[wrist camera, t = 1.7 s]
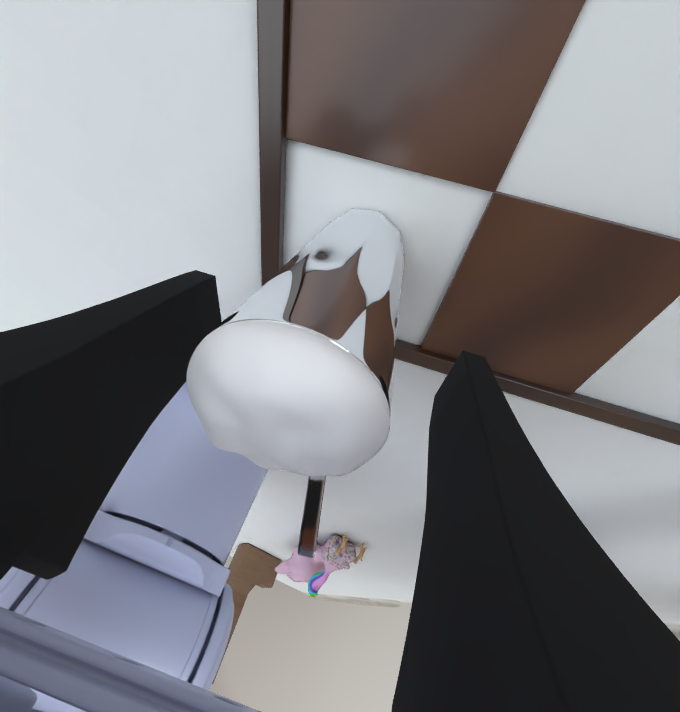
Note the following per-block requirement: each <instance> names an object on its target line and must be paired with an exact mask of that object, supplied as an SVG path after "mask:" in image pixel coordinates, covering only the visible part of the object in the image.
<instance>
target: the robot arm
mask: <svg viewBox="0 0 680 712" xmlns="http://www.w3.org/2000/svg"><path fill="white" fill-rule="evenodd" d="M220 323H222V322H221V315H220V308H219V300H218V293H217V286H216V278H215V276H213V275H210V274H207V273H203V272H200V271H197V270H195V271H191V272H188V273H185V274H182V275H179V276H176V277H173V278H170V279H168V280H165V281H162V282H160V283H157V284H154V285H152V286H149V287H146V288H144V289H141V290H138V291H136V292H133V293H130V294H127V295H125V296H122V297H119V298H117V299H114V300H111V301H108V302H105V303H102V304H99V305H96V306H93V307H90V308H87V309H84V310H81V311H78V312H75V313H71V314H68V315H65V316H61V317H58V318H55V319H51V320H47V321H44V322H40V323H36V324H32V325H28V326H24V327H21V328H17V329H13V330H8V331H4V332H0V712H260V711H258V710H255V709H253V708H250V707H248V706H245V705H243V704H240V703H238V702H235V701H232V700H230V699H228V698H225V697H223V696H220V695H218V694H216V693H213V692H211V691H209V689H210V687H211V685H212V682H213V680H214V678H215V675H216V673H217V670H218V668H219V665H220V663H221V660H222V657H223V655H224V652H225V649H226V646H227V642H228V639H229V635H230V632H231V627H232V623H233V617H234V602H233V594H232V588H231V586H230V585H229V584H226V581H227V579H228V577H229V574H230V572H231V570H230V569H228V568H226V567H224V565H225V563H226V560H227V558H228V556H229V554H230V552H231V549H232V547H233V545H234V543H235V541H236V539H237V536H238V534H239V532H240V530H241V528H242V525H243V523H244V521H245V519H246V517H247V514H248V512H249V510H250V508H251V506H252V503H253V501H254V499H255V497H256V495H257V492H258V490H259V488H260V486H261V484H262V482H263V479H264V477H265V475H266V473H267V471H268V469H265V468H262V467H260V466H258V465H256V464H255V463H253V462H252V461H250V460H249V459H248V458H246V457H245V456H243V455H241V454H238V453H235V452H228V451H223V450H220V449H218V448H216V447H215V446H214V445H213V444H212V443H211V442H210V441H209V439H208V437H207V435H206V433H205V430H204V428H203V426H202V423H201V421H200V419H199V417H198V415H197V413H196V411H195V409H194V407H193V405H192V403H191V400H190V397H189V393H188V389H187V369H188V365H189V362H190V359H191V357H192V355H193V353H194V351H195V349H196V348H197V346H198V345H199V344H200V342H201V341H202V340H203V339H204V338H205V337H206V336H207V335H208V334H210V332H212V331H213V330H214V329H215V328H216V327H217V326H218V325H219V324H220ZM392 712H680V641H679V640H678V639H677V638H676V636H675V635H674V634H673V633H672V632H671V631H670V630H669V629H668V627H667V626H666V625H665V624H664V623H663V622H662V621H661V619H660V618H659V617H658V616H657V615H656V614H655V613H654V611H653V610H652V609H651V608H650V607H649V606H648V604H647V603H646V602H645V601H644V600H643V598H642V597H641V596H640V595H639V594H638V592H637V591H636V590H635V589H634V588H633V587H632V585H631V584H630V583H629V582H628V581H627V579H626V578H625V577H624V576H623V574H622V573H621V572H620V571H619V569H618V568H617V567H616V566H615V564H614V563H613V562H612V560H611V559H610V558H609V557H608V555H607V554H606V553H605V552H604V550H603V549H602V548H601V547H600V545H599V544H598V543H597V541H596V540H595V539H594V538H593V536H592V535H591V534H590V532H589V531H588V530H587V528H586V527H585V526H584V524H583V523H582V522H581V520H580V519H579V517H578V516H577V515H576V513H575V512H574V510H573V509H572V507H571V506H570V505H569V503H568V502H567V500H566V499H565V497H564V496H563V495H562V493H561V492H560V490H559V489H558V487H557V486H556V484H555V483H554V481H553V480H552V478H551V477H550V475H549V474H548V472H547V471H546V469H545V467H544V466H543V464H542V462H541V461H540V459H539V457H538V456H537V454H536V452H535V451H534V449H533V448H532V446H531V444H530V442H529V441H528V439H527V437H526V435H525V434H524V432H523V430H522V428H521V427H520V425H519V423H518V421H517V419H516V417H515V415H514V414H513V412H512V410H511V408H510V406H509V404H508V402H507V400H506V398H505V396H504V394H503V392H502V390H501V388H500V386H499V384H498V382H497V380H496V378H495V376H494V374H493V372H492V370H491V368H490V366H489V364H488V362H487V360H486V358H485V357H484V356H480V355H477V354H474V353H470V352H467V351H464V350H463V351H462V352H461V354H460V355H459V357H458V359H457V360H456V362H455V364H454V365H453V367H452V369H451V370H450V372H449V373H448V375H447V377H446V378H445V380H444V382H443V383H442V385H441V387H440V388H439V390H438V392H437V393H436V395H435V398H434V403H433V409H432V414H431V421H430V427H429V447H428V473H427V500H426V514H425V523H424V530H423V538H422V545H421V552H420V559H419V565H418V571H417V578H416V584H415V590H414V596H413V602H412V608H411V613H410V619H409V624H408V630H407V636H406V641H405V646H404V651H403V656H402V661H401V666H400V671H399V676H398V681H397V685H396V690H395V695H394V699H393V704H392Z"/></svg>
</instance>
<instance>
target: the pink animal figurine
mask: <svg viewBox="0 0 680 712" xmlns="http://www.w3.org/2000/svg"><path fill="white" fill-rule="evenodd" d="M343 535H344V534H343ZM342 537H343V536H342ZM342 539H343V541H342ZM342 539H341V537H339V536H337V535H333V536H331V537H330V538H329V539H328V541H327V542H326V544H325V545H323V546H320V545H319V544H316V551H315V556H314V558H309V557H304V556H300V555H298V546H297V547H296V548H295V549H294V550H293V554H292V556H291V558H289V559H287V560H285V561H283V562H282V563H281V564H279V565H278V566H277V567H275V571H276V572H277V573H280V574H287V576H288V577H289V578H290V579H292V580H293V581H295V582H309V583H308V591H309V594H310V596H311V597H315V596H317V595H318V594H317V592H318V590H319V589H320V587H321V586H322V585H323V584H324V583H325V581H326V580H327V578H328V576H329V574H330V573H331V572H333V571H335V570H341V569H349V568H350V566H349V565H348V564H349V563H350V562H354V563H355V564H356V563H357V561H358V560H359V559H360V558H361V561H362V557H363V554H364V551H365V548H366V547H365V548H363V545H364V543H363V545H362V547H361V546H360V544H359V546H360V553H359V556H358V557H356V550H355V547H354V545H353V544H352V543H350V542H347V541H348V540H349V539H350V538H349V539H346V533H345V537H343V538H342Z"/></svg>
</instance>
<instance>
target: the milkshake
mask: <svg viewBox="0 0 680 712" xmlns="http://www.w3.org/2000/svg"><path fill="white" fill-rule="evenodd" d="M403 268H404V252H403V246H402V240H401V234H400V231H399V230H398V229H397V228H396V227H395V226H394V225H393V224H392V223H391V222H390V221H389V220H388V219H387V218H386V217H385V216H384V215H383V214H382V213H381V212H379V211H370V210H362V209H355V208H352V209H350V210H348V211H347V212H345V213H344V214H342V215H341V216H339V217H337V218H336V219H334V220H333V221H331V222H329V223H328V224H327V225H326V226H325V227H324V228H323V229H322V230H321V231H320V232H319V233H318V234H317V235H316V236H315V237H314V238H313V239H312V240H311V241H310V242H309V243H308V244H307V245H306V246H305V247H304V248H303V249H301V250H300V251H299V252H298V253H297V254H296V255H295V256H294V257H293V258H292V259H291V260H290V261H289V262H288V263H287V264H286V265H285V266H284V267H283V268H282V269H281V270H280V271H279V272H278V273H277V274H276V275H275V276H274V277H273V278H272V279H270V280H269V281H268V282H267V283H266V284H265V285H264V286H262V287H261V288H260V289H259V290H258V291H257V292H256V293H254V294H253V295H252V296H251V297H250V298H249V299H248V300H246V301H245V302H244V303H243V304H242V305H241V306H240V307H239V308H237V309H236V310H235V311H234V312H233V313H232V314H231V315H229V316H228V317H227V318H226V319H225V320H224V321H223V322H222V323H220V324H219V325H218V326H217V327H216V328H215V329H214V330H213V331H212V332H210V334H208V335H207V336H206V337H205V338H204V339H203V340H202V341H201V342H200V344H199V345H198V346H197V348H196V349H195V351H194V353H193V355H192V357H191V359H190V362H189V365H188V369H187V389H188V393H189V397H190V400H191V403H192V405H193V407H194V409H195V411H196V413H197V415H198V417H199V419H200V421H201V423H202V426H203V428H204V430H205V433H206V435H207V437H208V439H209V441H210V442H211V443H212V444H213V445H214V446H215V447H216V448H218V449H220V450H223V451H228V452H235V453H238V454H241V455H243V456H245V457H246V458H248V459H249V460H250V461H252V462H253V463H255V464H256V465H258V466H260V467H262V468H265V469H270V470H285V471H290V472H294V473H298V474H301V475H306V476H309V479H308V486H307V492H306V499H305V505H304V512H303V518H302V524H301V531H300V537H299V544H298V555H300V556H304V557H309V558H314V556H315V551H316V544H317V536H318V529H319V522H320V515H321V507H322V500H323V493H324V485H325V478H326V476H341V475H344V474H347V473H350V472H352V471H354V470H355V469H357V468H359V467H360V466H362V465H363V464H365V463H366V462H367V461H368V460H370V459H371V458H372V457H373V456H374V455H376V454H377V452H378V451H379V450H380V449H381V448H382V446H383V445H384V443H385V441H386V439H387V437H388V434H389V430H390V417H391V404H392V388H393V372H394V356H395V341H396V332H397V323H398V314H399V305H400V296H401V286H402V277H403Z"/></svg>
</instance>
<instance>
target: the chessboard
mask: <svg viewBox="0 0 680 712" xmlns="http://www.w3.org/2000/svg"><path fill="white" fill-rule="evenodd" d="M584 3H585V0H257V28H258V88H259V148H260V208H261V268H262V286H264V285H265V284H266V283H267V282H268V281H269V280H270V279H272V278H273V277H274V276H275V275H276V274H277V273H278V272H279V271H280V270H281V269H282V257H283V229H284V200H285V171H286V142H287V139H291V140H295V141H299V142H303V143H307V144H310V145H314V146H318V147H322V148H326V149H330V150H333V151H337V152H341V153H345V154H349V155H353V156H356V157H360V158H364V159H368V160H372V161H376V162H380V163H383V164H387V165H391V166H395V167H399V168H403V169H406V170H410V171H414V172H418V173H422V174H426V175H430V176H433V177H437V178H441V179H445V180H449V181H453V182H456V183H460V184H464V185H468V186H472V187H476V188H479V189H483V190H487V191H491V192H494V193H493V195H492V197H491V199H490V201H489V203H488V205H487V207H486V209H485V212H484V214H483V216H482V218H481V220H480V222H479V224H478V226H477V229H476V231H475V233H474V235H473V237H472V239H471V241H470V243H469V246H468V248H467V250H466V252H465V254H464V256H463V258H462V260H461V263H460V265H459V267H458V269H457V271H456V273H455V275H454V277H453V279H452V282H451V284H450V286H449V288H448V290H447V292H446V294H445V296H444V299H443V301H442V303H441V305H440V307H439V309H438V311H437V313H436V316H435V318H434V320H433V322H432V324H431V326H430V328H429V330H428V332H427V335H426V337H425V339H424V341H423V343H422V345H421V347H420V346H416V345H413V344H410V343H406V342H403V341H400V340H396V341H395V356H394V358H395V359H399V360H402V361H405V362H409V363H412V364H415V365H418V366H422V367H425V368H428V369H431V370H435V371H438V372H441V373H445V374H448V373H449V372H450V370H451V369H452V367H453V365H454V364H455V362H456V360H457V359H458V357H459V355H460V354H461V352H462V351H463V350H464V351H467V352H470V353H474V354H477V355H480V356H484V357H485V358H486V360H487V362H488V364H489V366H490V368H491V370H492V372H493V374H494V376H495V378H496V380H497V382H498V384H499V386H500V388H501V390H502V391H503V392H507V393H510V394H513V395H517V396H520V397H523V398H526V399H530V400H533V401H536V402H540V403H543V404H546V405H549V406H553V407H556V408H559V409H562V410H566V411H569V412H572V413H576V414H579V415H582V416H585V417H589V418H592V419H595V420H598V421H602V422H605V423H608V424H612V425H615V426H618V427H621V428H625V429H628V430H631V431H634V432H638V433H641V434H644V435H648V436H651V437H654V438H657V439H661V440H664V441H667V442H670V443H674V444H677V445H680V425H679V424H676V423H672V422H669V421H666V420H662V419H659V418H656V417H652V416H649V415H646V414H642V413H639V412H636V411H632V410H629V409H626V408H622V407H619V406H616V405H612V404H609V403H606V402H603V401H599V400H596V399H593V398H589V397H586V396H583V395H579V394H576V393H573V392H574V391H575V390H576V389H577V388H579V387H580V386H581V385H582V384H583V383H584V382H585V381H586V380H587V379H588V378H589V377H591V376H592V375H593V374H594V373H595V372H596V371H597V370H598V369H599V368H600V367H602V366H603V365H604V364H605V363H606V362H607V361H608V360H609V359H610V358H611V357H613V356H614V355H615V354H616V353H617V352H618V351H619V350H620V349H621V348H622V347H624V346H625V345H626V344H627V343H628V342H629V341H630V340H631V339H632V338H633V337H634V336H636V335H637V334H638V333H639V332H640V331H641V330H642V329H643V328H644V327H645V326H647V325H648V324H649V323H650V322H651V321H652V320H653V319H654V318H655V317H656V316H658V315H659V314H660V313H661V312H662V311H663V310H664V309H665V308H666V307H667V306H668V305H670V304H671V303H672V302H673V301H674V300H675V299H676V298H677V297H678V296H679V295H680V239H677V238H673V237H670V236H666V235H662V234H658V233H654V232H650V231H646V230H643V229H639V228H635V227H631V226H627V225H623V224H619V223H616V222H612V221H608V220H604V219H600V218H596V217H593V216H589V215H585V214H581V213H577V212H573V211H569V210H566V209H562V208H558V207H554V206H550V205H546V204H543V203H539V202H535V201H531V200H527V199H523V198H519V197H516V196H512V195H508V194H504V193H500V192H496V191H495V190H496V188H497V186H498V184H499V182H500V180H501V178H502V176H503V174H504V171H505V169H506V167H507V165H508V163H509V161H510V159H511V157H512V155H513V152H514V150H515V148H516V146H517V144H518V142H519V140H520V138H521V136H522V133H523V131H524V129H525V127H526V125H527V123H528V121H529V119H530V117H531V114H532V112H533V110H534V108H535V106H536V104H537V102H538V100H539V98H540V95H541V93H542V91H543V89H544V87H545V85H546V83H547V81H548V79H549V76H550V74H551V72H552V70H553V68H554V66H555V64H556V62H557V60H558V57H559V55H560V53H561V51H562V49H563V47H564V45H565V43H566V41H567V38H568V36H569V34H570V32H571V30H572V28H573V26H574V24H575V22H576V19H577V17H578V15H579V13H580V11H581V9H582V7H583V5H584Z"/></svg>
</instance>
